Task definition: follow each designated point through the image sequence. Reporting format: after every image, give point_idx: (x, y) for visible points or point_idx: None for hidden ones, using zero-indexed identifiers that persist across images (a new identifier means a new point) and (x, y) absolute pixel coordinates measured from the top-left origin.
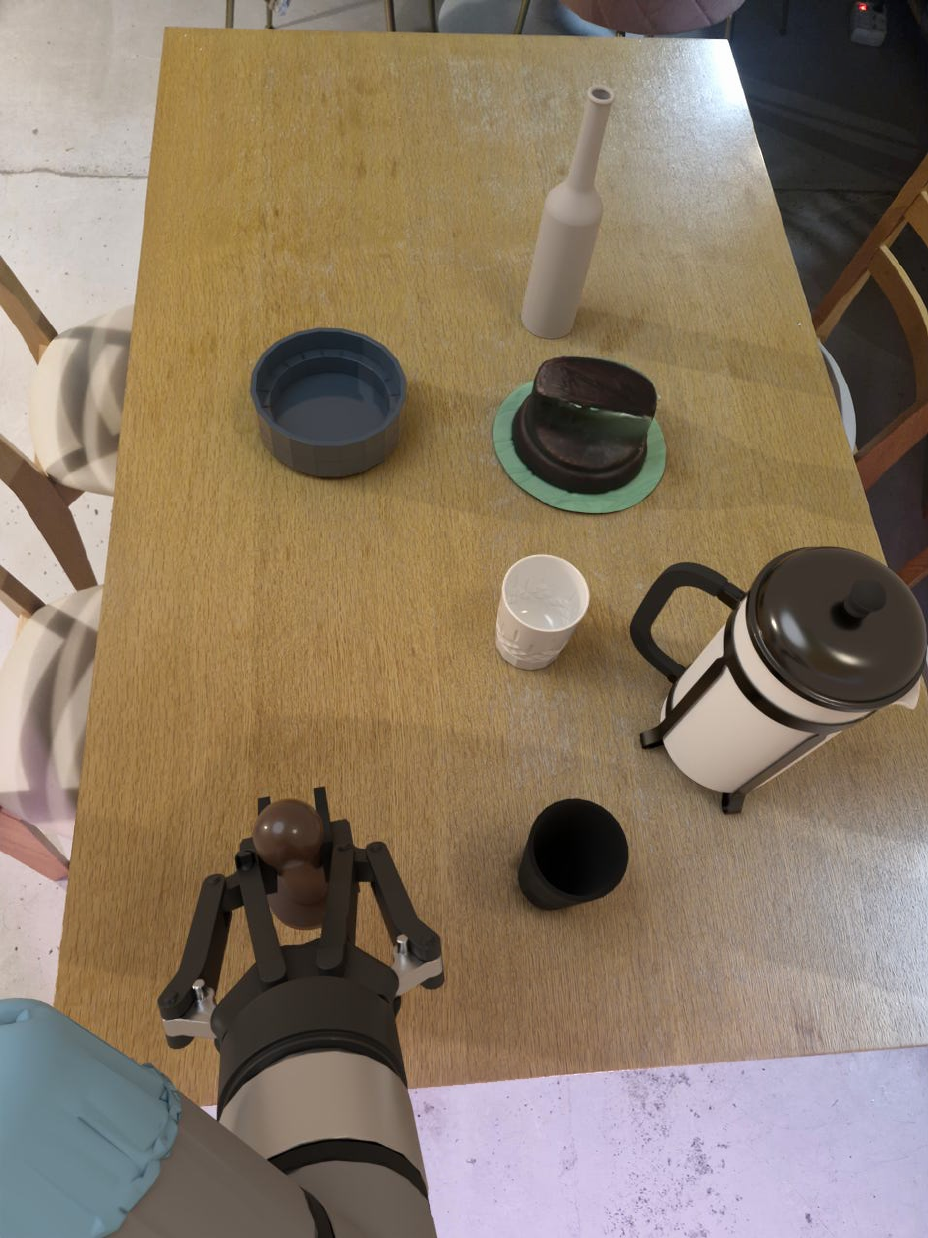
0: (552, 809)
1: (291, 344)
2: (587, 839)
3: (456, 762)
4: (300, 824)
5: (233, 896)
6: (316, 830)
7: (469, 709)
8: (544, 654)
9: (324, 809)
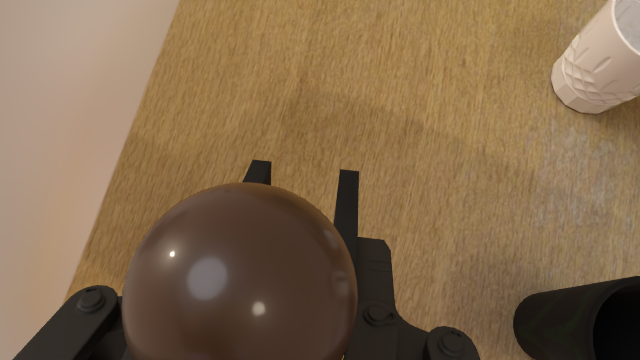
0: (631, 284)
1: None
2: (628, 317)
3: (479, 182)
4: (280, 307)
5: (125, 345)
6: (334, 336)
7: (506, 134)
8: (618, 96)
9: (351, 212)
